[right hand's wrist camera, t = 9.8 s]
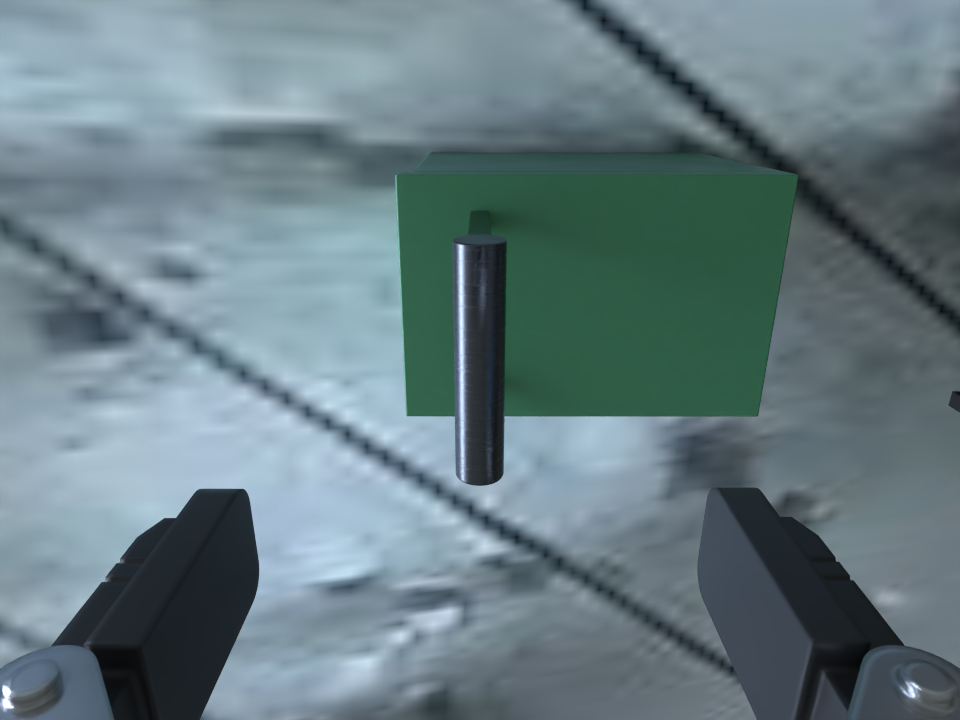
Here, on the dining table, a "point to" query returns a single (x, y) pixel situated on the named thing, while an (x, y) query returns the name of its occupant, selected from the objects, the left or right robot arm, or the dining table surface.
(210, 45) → the dining table surface
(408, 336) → the lid
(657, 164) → the chest
